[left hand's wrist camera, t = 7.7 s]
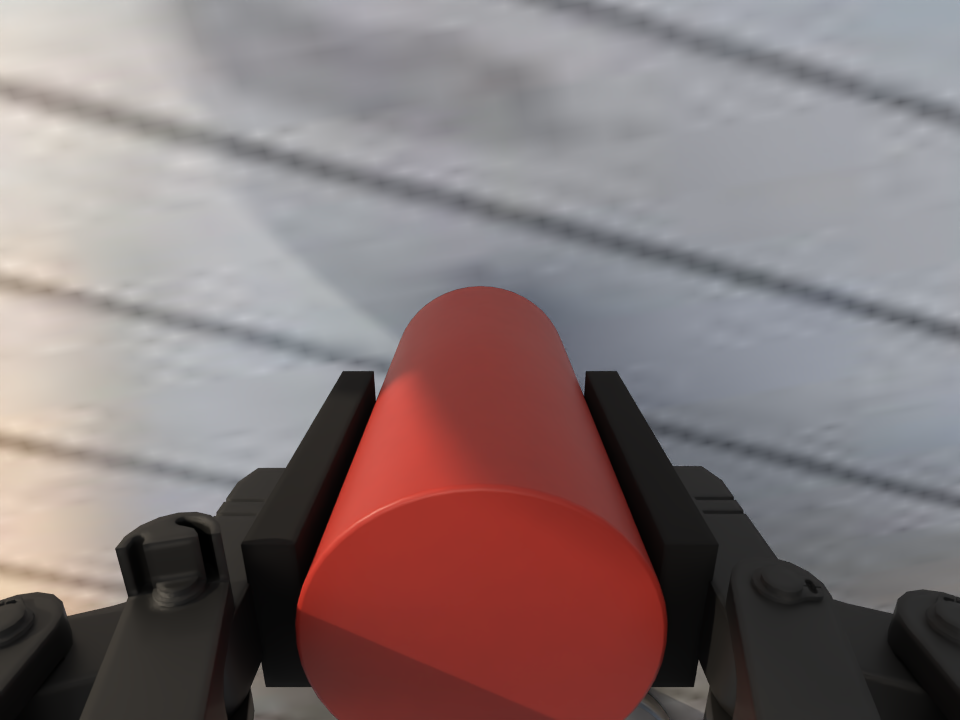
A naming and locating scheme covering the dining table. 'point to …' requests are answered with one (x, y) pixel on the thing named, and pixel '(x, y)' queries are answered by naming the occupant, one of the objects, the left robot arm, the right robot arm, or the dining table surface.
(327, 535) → the canister
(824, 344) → the dining table surface
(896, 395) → the dining table surface
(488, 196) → the dining table surface
